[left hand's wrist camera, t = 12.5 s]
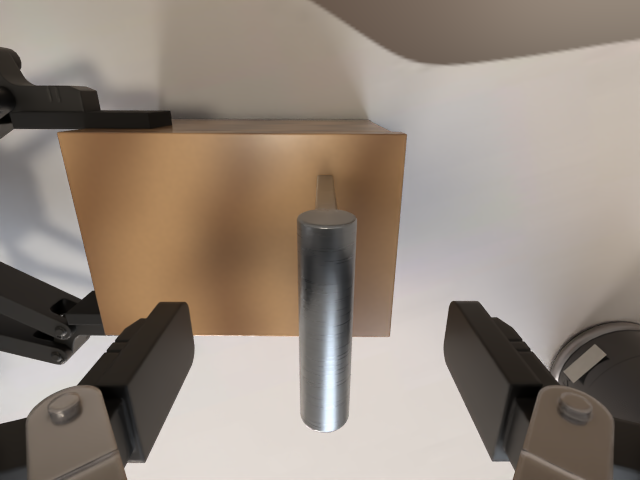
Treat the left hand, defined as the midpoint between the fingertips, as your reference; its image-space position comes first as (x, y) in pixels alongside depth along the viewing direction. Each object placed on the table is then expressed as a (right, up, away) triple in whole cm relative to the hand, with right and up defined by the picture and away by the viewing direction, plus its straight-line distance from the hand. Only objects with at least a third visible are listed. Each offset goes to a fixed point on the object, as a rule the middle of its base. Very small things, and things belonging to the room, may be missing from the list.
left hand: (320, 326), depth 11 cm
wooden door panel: (-4, +3, +7) cm, 8 cm away
